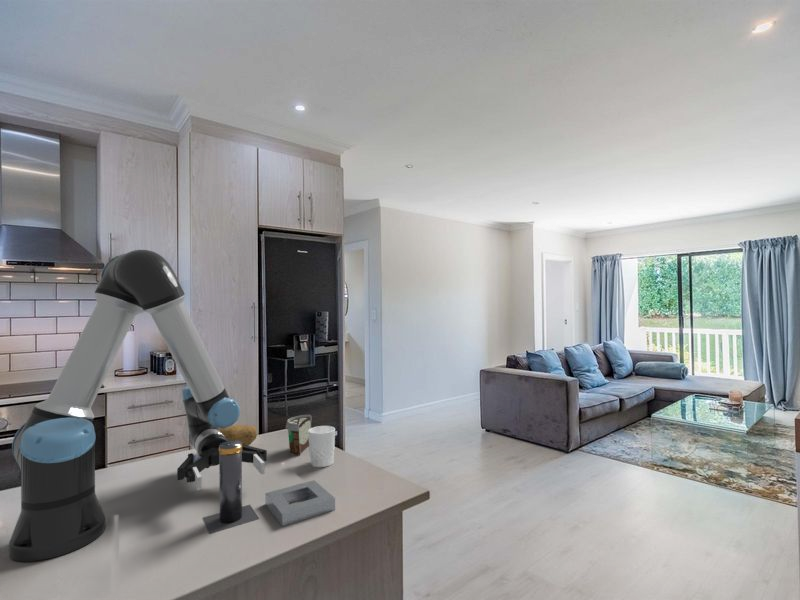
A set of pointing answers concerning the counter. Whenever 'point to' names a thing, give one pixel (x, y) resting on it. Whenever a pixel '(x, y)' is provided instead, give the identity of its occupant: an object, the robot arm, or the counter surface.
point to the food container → (298, 433)
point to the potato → (240, 433)
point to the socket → (303, 510)
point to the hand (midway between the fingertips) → (232, 475)
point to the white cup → (322, 445)
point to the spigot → (230, 481)
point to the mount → (215, 524)
